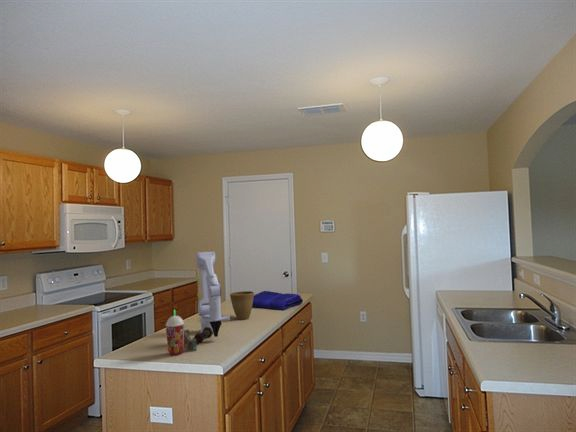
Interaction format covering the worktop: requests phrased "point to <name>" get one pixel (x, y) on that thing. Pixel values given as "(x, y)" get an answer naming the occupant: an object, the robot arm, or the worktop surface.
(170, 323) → the smoothie
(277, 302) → the towel
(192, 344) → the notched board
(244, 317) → the plant pot
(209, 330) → the bolt
